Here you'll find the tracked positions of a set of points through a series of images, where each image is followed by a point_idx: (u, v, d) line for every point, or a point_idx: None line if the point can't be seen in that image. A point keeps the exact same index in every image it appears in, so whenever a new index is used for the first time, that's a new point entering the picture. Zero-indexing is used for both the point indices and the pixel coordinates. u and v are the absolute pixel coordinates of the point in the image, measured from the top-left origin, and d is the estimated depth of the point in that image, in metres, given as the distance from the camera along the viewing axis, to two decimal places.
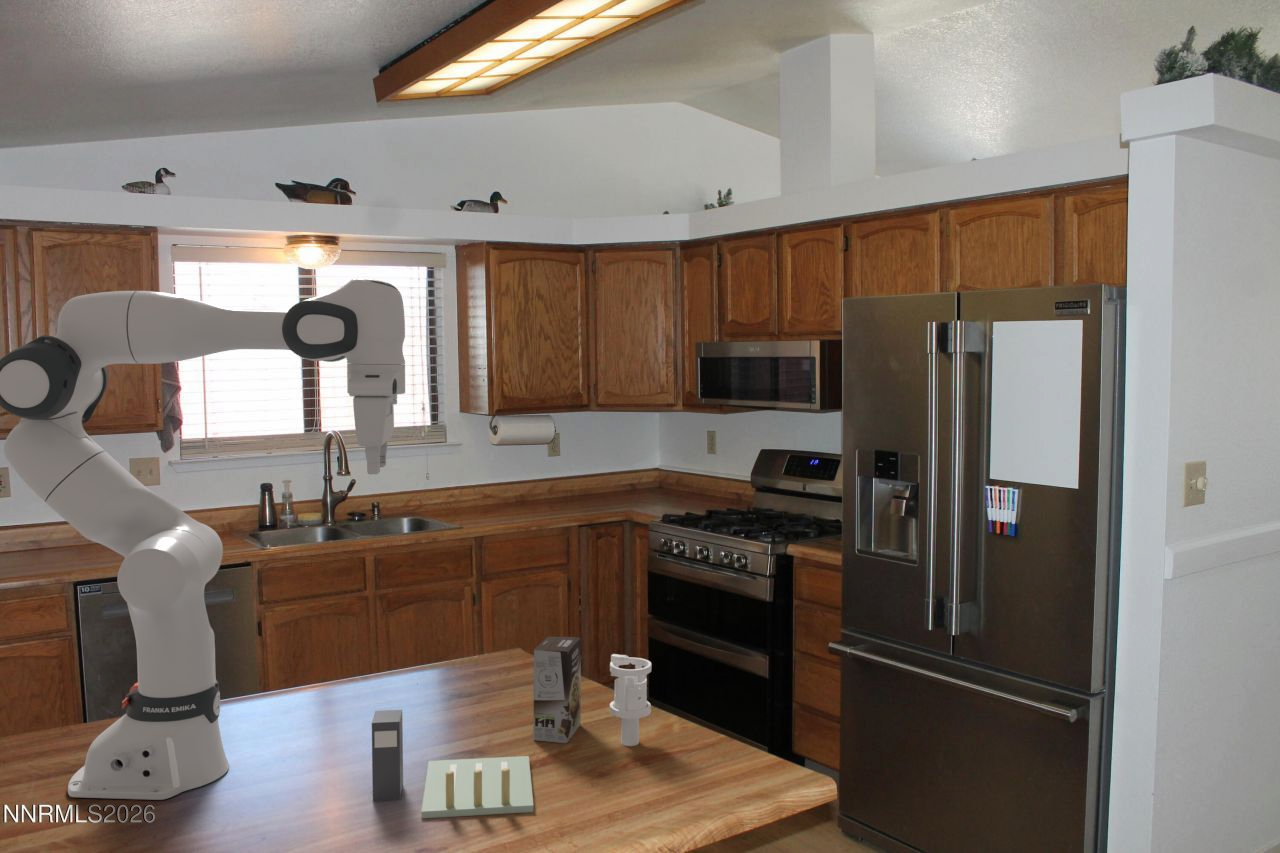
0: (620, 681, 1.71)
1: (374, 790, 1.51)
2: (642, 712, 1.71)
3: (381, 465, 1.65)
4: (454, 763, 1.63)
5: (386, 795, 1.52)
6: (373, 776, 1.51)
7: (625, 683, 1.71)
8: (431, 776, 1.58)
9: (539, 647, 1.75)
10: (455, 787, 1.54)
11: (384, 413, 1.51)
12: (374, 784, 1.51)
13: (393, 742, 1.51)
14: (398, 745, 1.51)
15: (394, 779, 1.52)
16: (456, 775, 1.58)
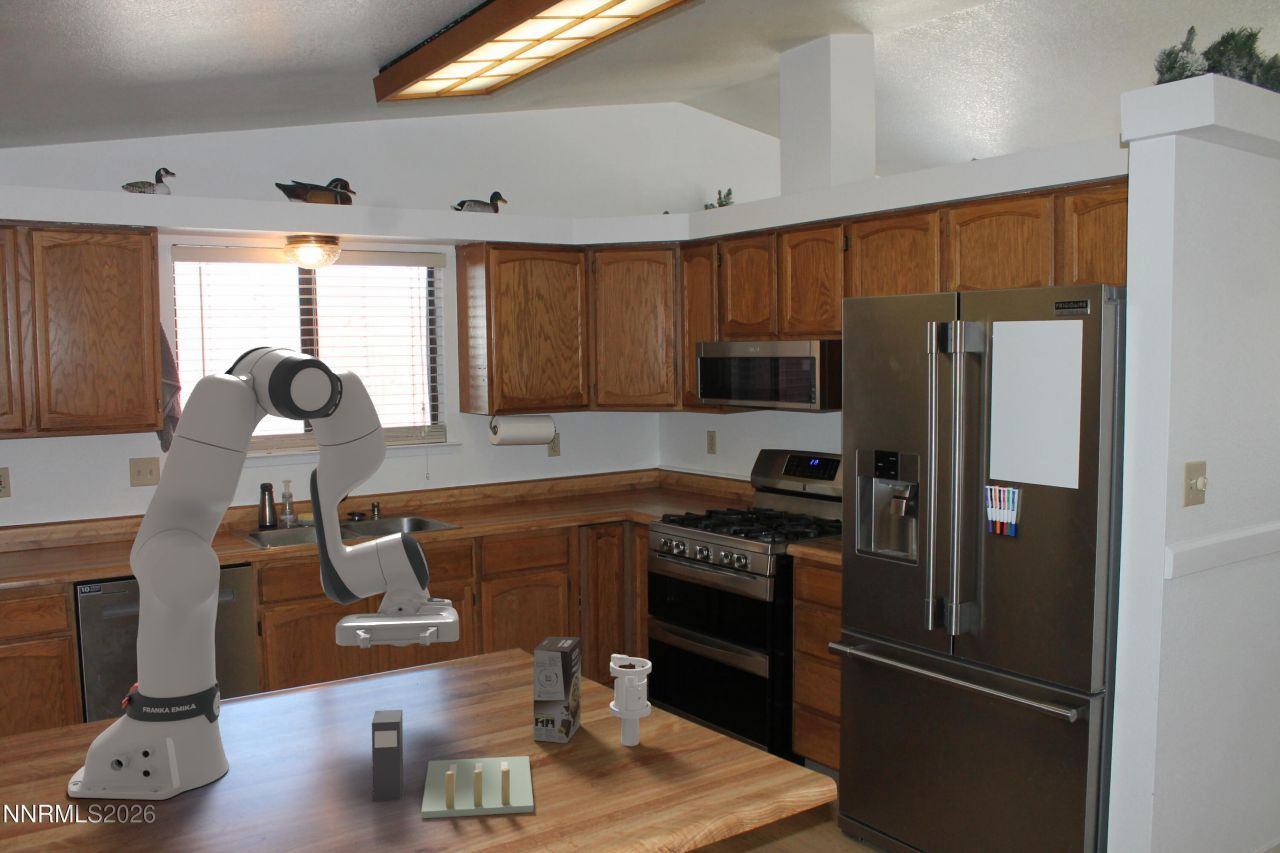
0: (620, 681, 1.71)
1: (374, 790, 1.51)
2: (642, 712, 1.71)
3: (369, 644, 1.64)
4: (454, 763, 1.63)
5: (386, 795, 1.52)
6: (373, 776, 1.51)
7: (625, 683, 1.71)
8: (431, 776, 1.58)
9: (540, 647, 1.75)
10: (455, 787, 1.54)
11: None
12: (374, 784, 1.51)
13: (393, 742, 1.51)
14: (398, 745, 1.51)
15: (394, 779, 1.52)
16: (456, 775, 1.58)
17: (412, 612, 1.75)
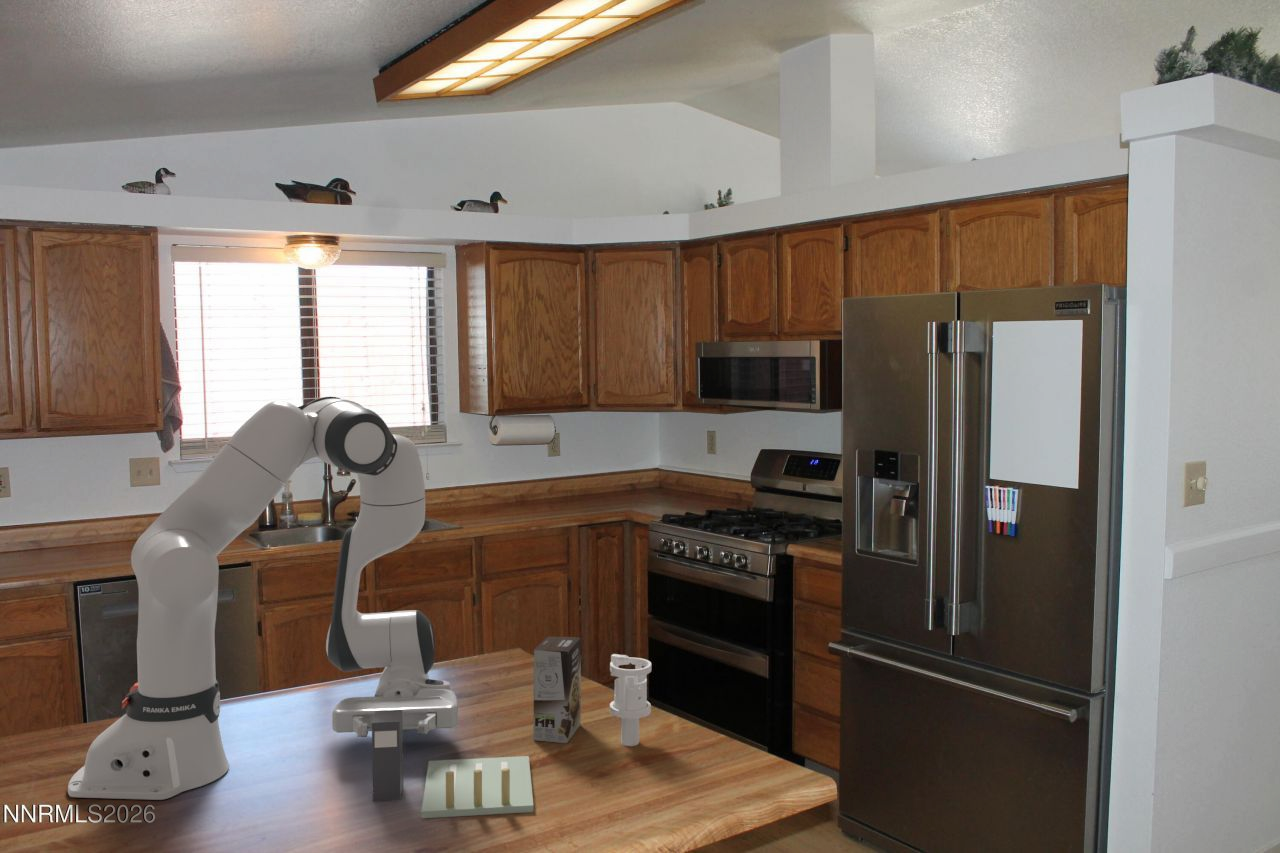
0: (620, 681, 1.71)
1: (374, 790, 1.51)
2: (642, 712, 1.71)
3: (366, 733, 1.62)
4: (454, 763, 1.63)
5: (386, 795, 1.52)
6: (373, 776, 1.51)
7: (625, 683, 1.71)
8: (431, 776, 1.58)
9: (540, 647, 1.75)
10: (455, 787, 1.54)
11: None
12: (374, 784, 1.51)
13: (393, 742, 1.51)
14: (398, 745, 1.51)
15: (394, 779, 1.52)
16: (456, 775, 1.58)
17: (410, 696, 1.72)
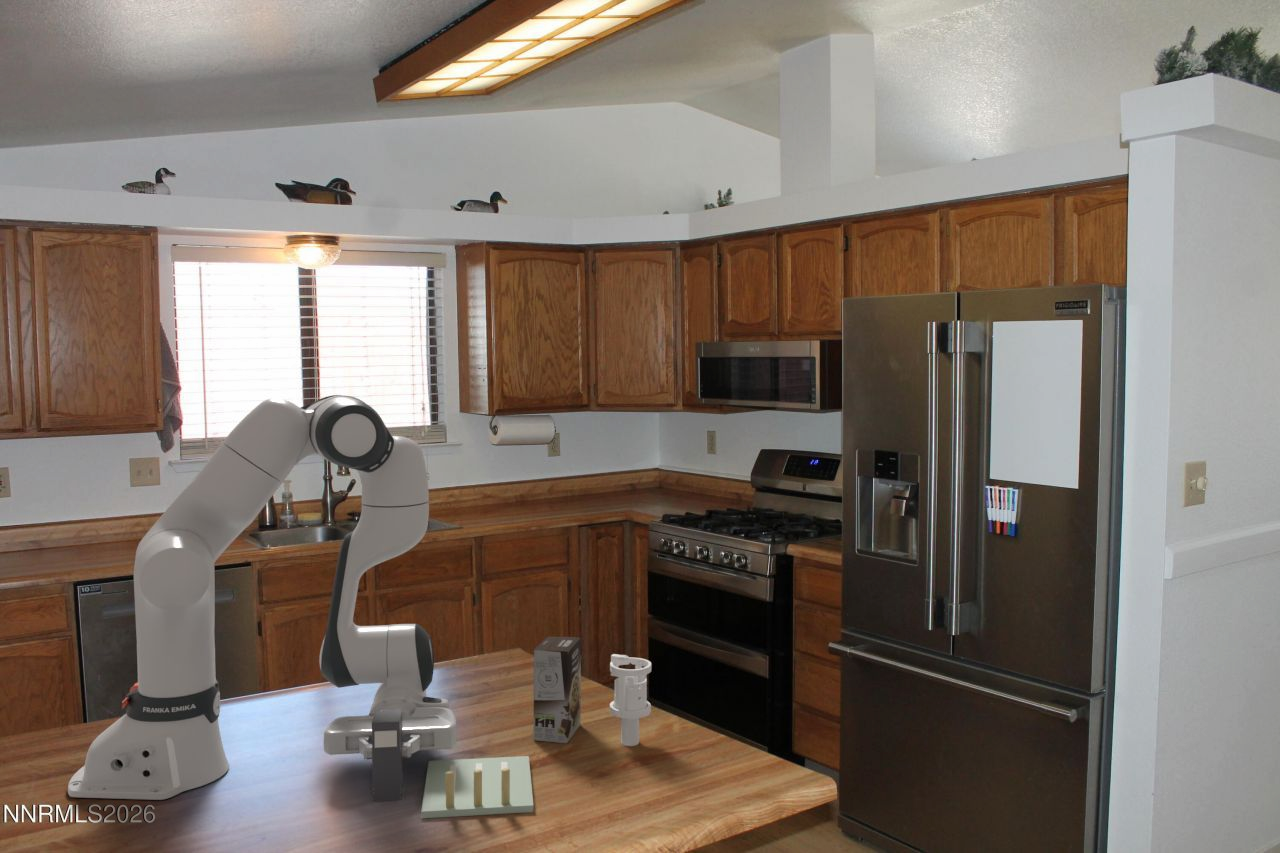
0: (620, 681, 1.71)
1: (374, 790, 1.51)
2: (642, 712, 1.71)
3: None
4: (454, 763, 1.63)
5: (386, 795, 1.52)
6: (373, 776, 1.51)
7: (625, 683, 1.71)
8: (431, 776, 1.58)
9: (540, 647, 1.75)
10: (455, 787, 1.54)
11: None
12: (374, 784, 1.51)
13: (393, 742, 1.51)
14: (398, 745, 1.51)
15: (394, 778, 1.52)
16: (456, 775, 1.58)
17: (406, 715, 1.63)
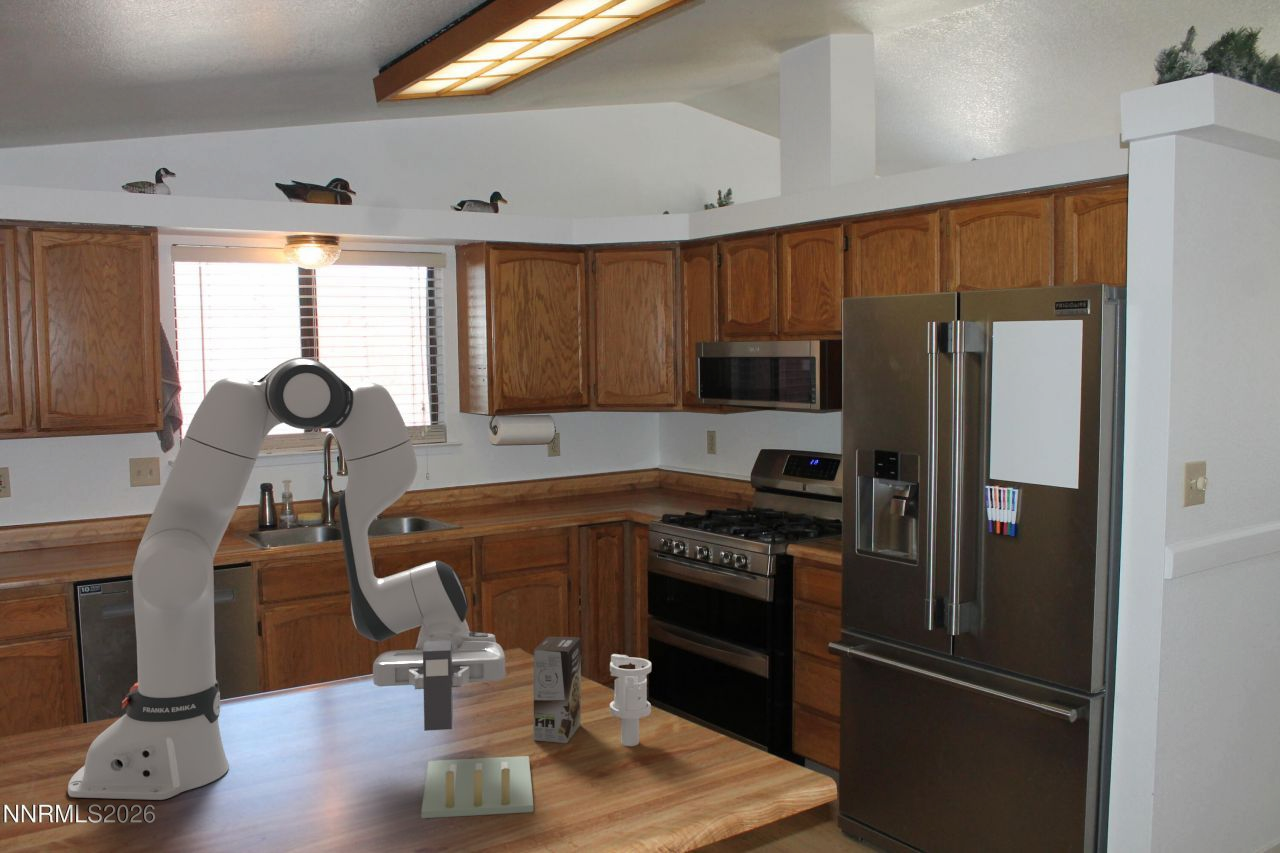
0: (620, 681, 1.71)
1: (426, 719, 1.51)
2: (642, 712, 1.71)
3: None
4: (454, 763, 1.63)
5: (437, 724, 1.51)
6: (424, 705, 1.51)
7: (625, 683, 1.71)
8: (431, 776, 1.58)
9: (540, 647, 1.75)
10: (455, 787, 1.54)
11: None
12: (425, 713, 1.51)
13: (444, 671, 1.50)
14: (449, 674, 1.51)
15: (445, 708, 1.51)
16: (456, 775, 1.58)
17: (454, 648, 1.63)
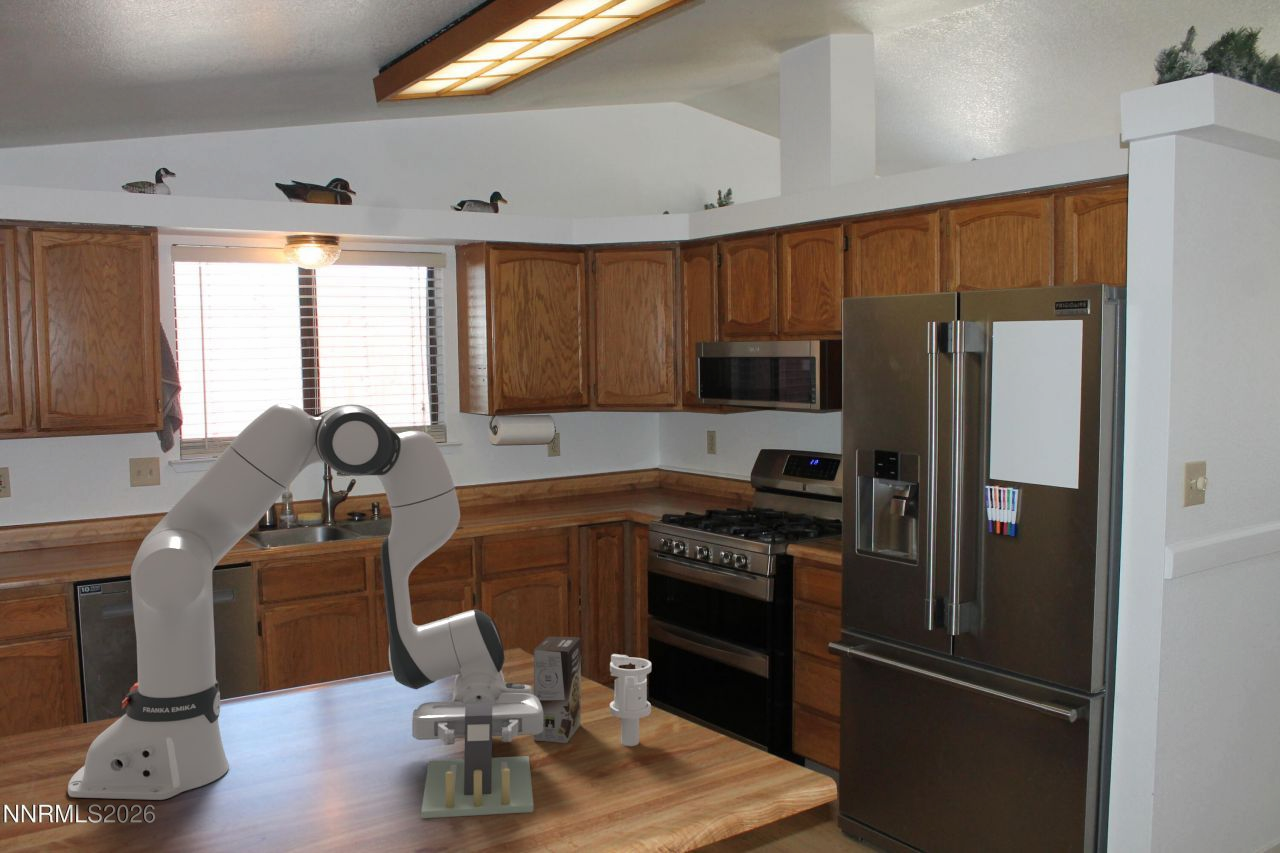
0: (620, 681, 1.71)
1: (466, 783, 1.51)
2: (642, 712, 1.71)
3: (454, 740, 1.52)
4: (454, 763, 1.63)
5: None
6: (465, 769, 1.51)
7: (625, 683, 1.71)
8: (431, 776, 1.58)
9: (540, 647, 1.75)
10: (455, 787, 1.54)
11: None
12: (466, 777, 1.51)
13: (486, 736, 1.51)
14: (490, 739, 1.51)
15: (485, 772, 1.52)
16: (456, 775, 1.58)
17: (491, 700, 1.63)
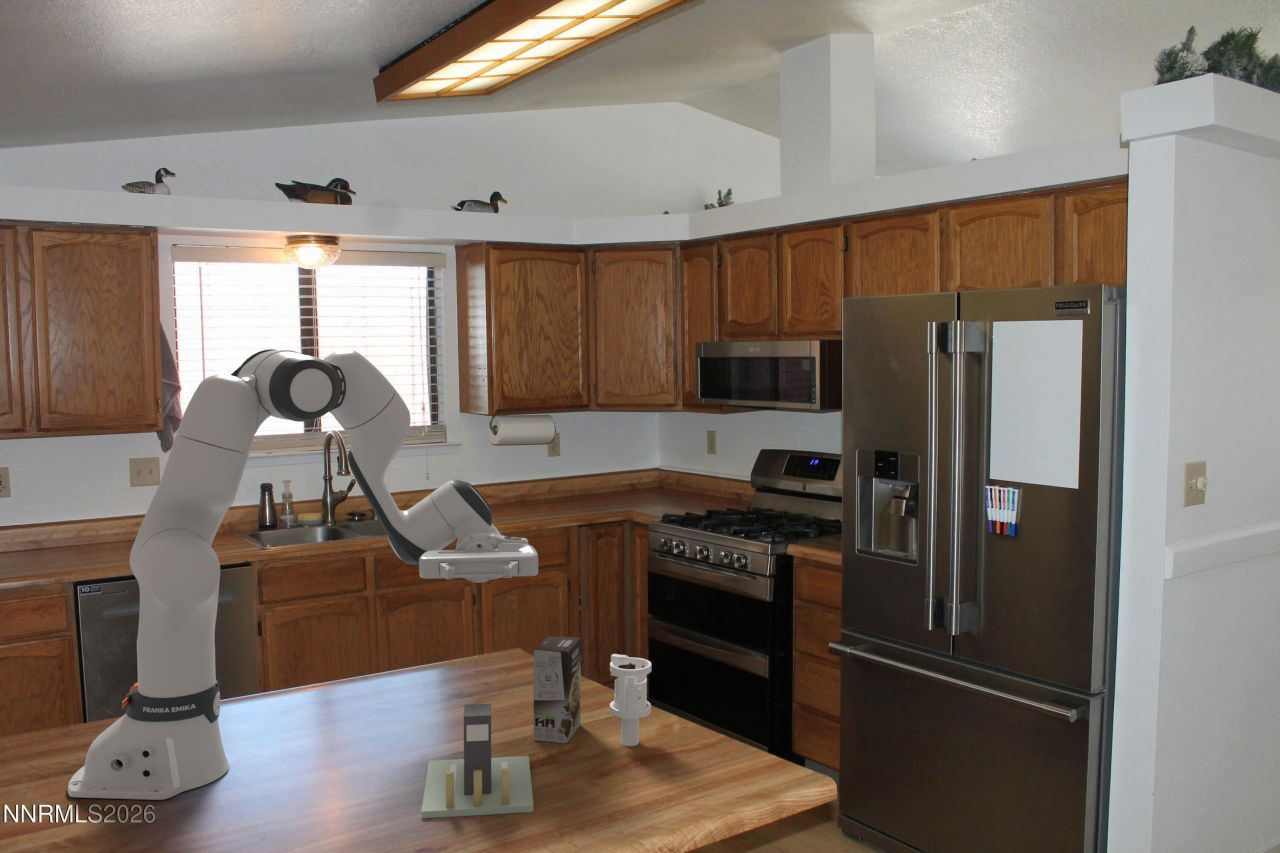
0: (620, 681, 1.71)
1: (465, 784, 1.51)
2: (642, 712, 1.71)
3: (454, 575, 1.68)
4: (454, 763, 1.63)
5: None
6: (465, 770, 1.51)
7: (625, 683, 1.71)
8: (431, 776, 1.58)
9: (540, 647, 1.75)
10: (455, 787, 1.54)
11: None
12: (465, 778, 1.51)
13: (485, 736, 1.51)
14: (489, 739, 1.51)
15: (485, 772, 1.52)
16: (456, 775, 1.58)
17: (491, 548, 1.79)
